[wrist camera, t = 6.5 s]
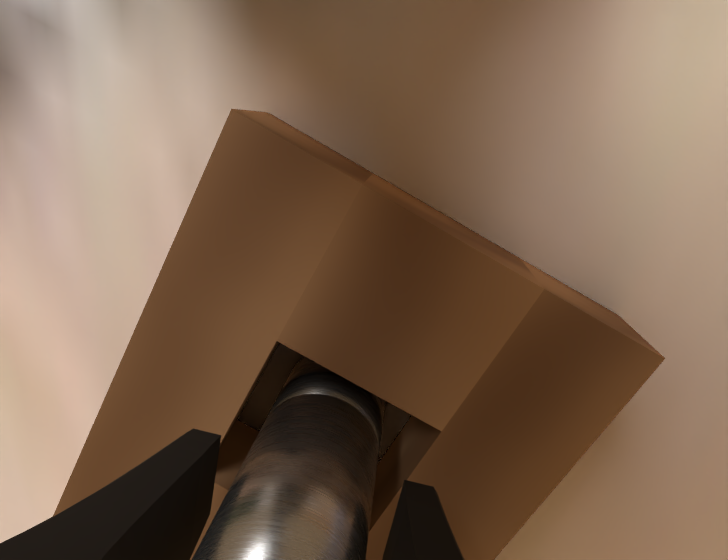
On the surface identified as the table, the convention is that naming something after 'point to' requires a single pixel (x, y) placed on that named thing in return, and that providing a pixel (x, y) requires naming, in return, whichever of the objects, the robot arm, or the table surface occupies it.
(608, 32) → the table surface
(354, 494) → the metal cylinder
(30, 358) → the table surface
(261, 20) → the table surface
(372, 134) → the table surface
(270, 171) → the holder
